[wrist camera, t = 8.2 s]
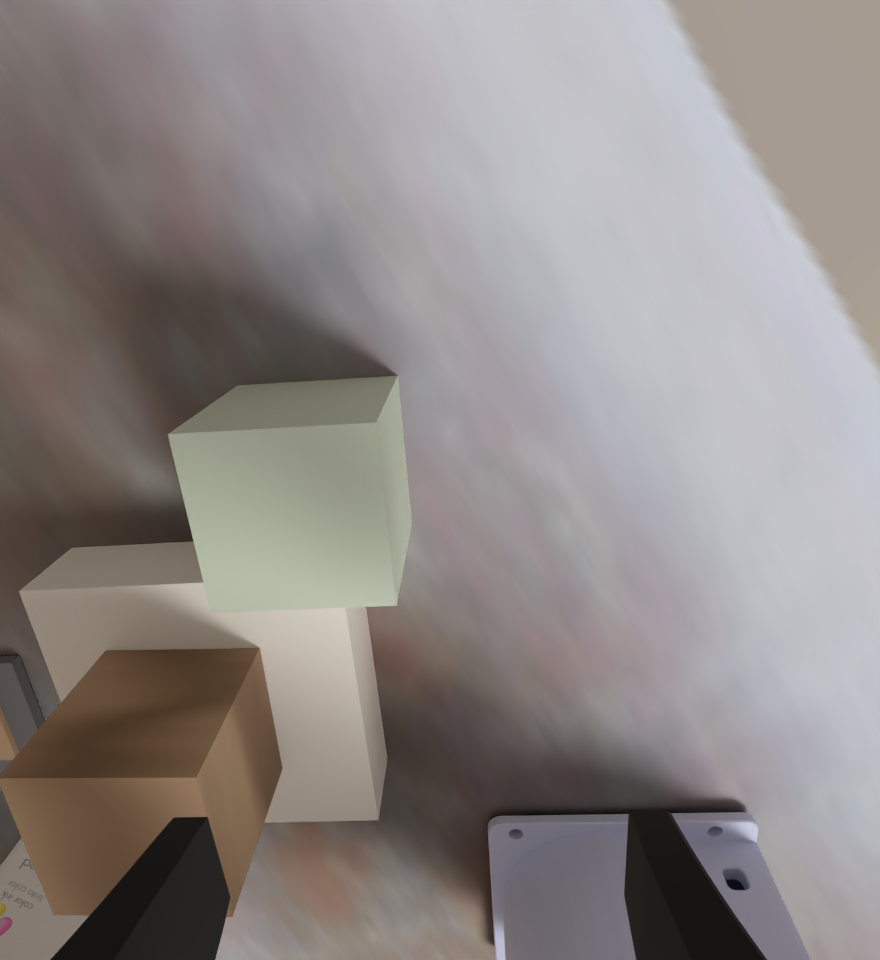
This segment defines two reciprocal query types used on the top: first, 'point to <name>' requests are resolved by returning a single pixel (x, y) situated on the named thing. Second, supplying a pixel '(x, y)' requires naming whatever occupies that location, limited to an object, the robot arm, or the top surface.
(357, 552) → the sage block
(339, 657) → the base block
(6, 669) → the tile
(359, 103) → the top surface
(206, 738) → the walnut block
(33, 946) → the ink cartridge box
